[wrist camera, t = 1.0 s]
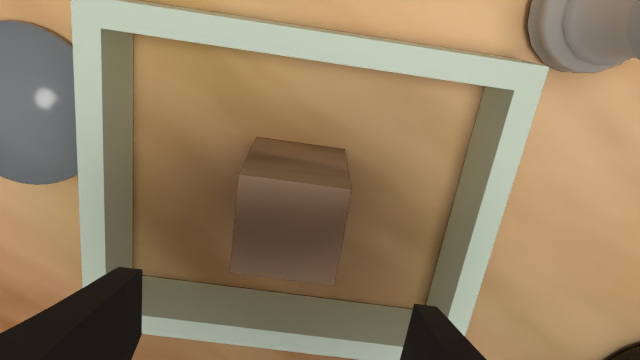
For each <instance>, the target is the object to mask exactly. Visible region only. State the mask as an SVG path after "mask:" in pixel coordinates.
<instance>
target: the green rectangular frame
mask: <svg viewBox="0 0 640 360" xmlns="http://www.w3.org/2000/svg"><path fill="white" fill-rule="evenodd" d="M71 19H72V43H73V67H74V92H75V116H76V140H77V164H78V188H79V213H80V237H81V261H82V285H83V288H84V287H85V286H87V285H89V284H90V283H92V282H94V281H95V280H97V279H98V278H100V277H102V276H103V275H105V274H107V273H108V272H110V271H112V270H114V269H116V268H117V267H125V268H133V33H135V34H142V35H148V36H155V37H162V38H168V39H175V40H182V41H188V42H195V43H202V44H208V45H215V46H222V47H228V48H235V49H242V50H248V51H255V52H262V53H268V54H275V55H282V56H288V57H295V58H302V59H308V60H315V61H322V62H328V63H335V64H342V65H348V66H355V67H362V68H368V69H375V70H382V71H388V72H395V73H402V74H408V75H415V76H421V77H428V78H435V79H441V80H448V81H455V82H461V83H468V84H475V85H481V86H485V87H484V91H483V95H482V99H481V102H480V106H479V110H478V113H477V117H476V121H475V124H474V128H473V132H472V136H471V139H470V143H469V147H468V150H467V154H466V158H465V162H464V165H463V169H462V173H461V176H460V180H459V184H458V188H457V191H456V195H455V199H454V202H453V206H452V210H451V214H450V217H449V221H448V225H447V228H446V232H445V236H444V240H443V243H442V247H441V251H440V254H439V258H438V262H437V265H436V269H435V273H434V277H433V280H432V284H431V288H430V291H429V295H428V299H427V303H426V305H428V306H436V307H438V308H439V309H440V310H441V311H442V312H443V314H444V315H445V316H446V317H447V318H448V319H449V320H450V321H451V322H452V323H453V324H454V325H455V327H456V328H457V329H458V330H459V331H460V332H461V333H462V334H463V335H464V336H465V334H466V331H467V328H468V325H469V322H470V318H471V315H472V312H473V309H474V306H475V303H476V299H477V296H478V293H479V290H480V287H481V283H482V280H483V277H484V274H485V271H486V268H487V264H488V261H489V258H490V255H491V252H492V248H493V245H494V242H495V239H496V236H497V232H498V229H499V226H500V223H501V220H502V217H503V213H504V210H505V207H506V204H507V201H508V197H509V194H510V191H511V188H512V185H513V181H514V178H515V175H516V172H517V169H518V166H519V162H520V159H521V156H522V153H523V150H524V146H525V143H526V140H527V137H528V134H529V131H530V127H531V124H532V121H533V118H534V115H535V111H536V108H537V105H538V102H539V99H540V95H541V92H542V89H543V86H544V83H545V80H546V76H547V73H548V70H549V67H548V66H544V65H540V64H536V63H532V62H528V61H524V60H520V59H516V58H510V57H503V56H497V55H490V54H484V53H477V52H471V51H464V50H458V49H451V48H445V47H438V46H432V45H425V44H419V43H412V42H406V41H399V40H393V39H386V38H380V37H373V36H367V35H360V34H354V33H347V32H341V31H334V30H328V29H321V28H315V27H308V26H302V25H295V24H289V23H282V22H276V21H269V20H263V19H256V18H250V17H243V16H237V15H230V14H224V13H217V12H211V11H204V10H198V9H191V8H185V7H178V6H172V5H165V4H159V3H152V2H146V1H139V0H71ZM412 311H413V309H406V308H398V307H390V306H382V305H374V304H366V303H358V302H350V301H342V300H334V299H326V298H318V297H310V296H302V295H294V294H286V293H278V292H270V291H262V290H254V289H246V288H238V287H230V286H222V285H214V284H206V283H198V282H190V281H182V280H174V279H166V278H158V277H150V276H142V334H148V335H156V336H165V337H173V338H182V339H190V340H198V341H207V342H215V343H224V344H232V345H241V346H249V347H257V348H266V349H274V350H283V351H291V352H300V353H308V354H316V355H325V356H333V357H342V358H350V359H359V360H400V357H401V353H402V349H403V346H404V342H405V338H406V334H407V330H408V326H409V322H410V319H411V315H412Z"/></svg>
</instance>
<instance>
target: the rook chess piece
mask: <svg viewBox="0 0 640 360" xmlns="http://www.w3.org/2000/svg"><path fill="white" fill-rule="evenodd" d="M527 27H528V32H529V37H530V41H531V46H532V48H533V49H534V51H535V52H536V53H537V55H538V56H539V57H540V59H541V60H542V61H543V63H545V64H547V65H549V66H551V67H553V68H555V69H557V70H559V71H561V72H572V73H597V72H601V71H604V70H606V69H609V68H612V67H615V66H618V65H620V64H622V63H623V62H624V61H626V60H628V59H630V58H636V57H637V58H638V59H639V60H640V0H533V1H532V3H531V8H530V13H529V19H528V25H527Z"/></svg>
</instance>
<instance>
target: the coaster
mask: <svg viewBox="0 0 640 360" xmlns="http://www.w3.org/2000/svg"><path fill="white" fill-rule="evenodd" d="M77 173H78V164H77V140H76V116H75V92H74V67H73V44H72V43H70V42H69V41H68V40H67V39H65V38H63V37H62V36H60V35H59V34H57V33H55V32H53V31H51V30H49V29H47V28H45V27H42V26H39V25H36V24H33V23H28V22H23V21H12V20H11V21H0V176H1V177H4V178H6V179H9V180H12V181H16V182H20V183H25V184H36V185H40V184H51V183H57V182H60V181H63V180H66V179H68V178H70V177H72V176H74V175H76V174H77Z"/></svg>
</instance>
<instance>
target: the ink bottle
mask: <svg viewBox="0 0 640 360" xmlns="http://www.w3.org/2000/svg"><path fill="white" fill-rule="evenodd" d="M612 360H640V346H638V347H635V348H632V349H630V350H627V351H625V352H623V353H621V354H619V355H618V356H616V357H614V358H613V359H612Z"/></svg>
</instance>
